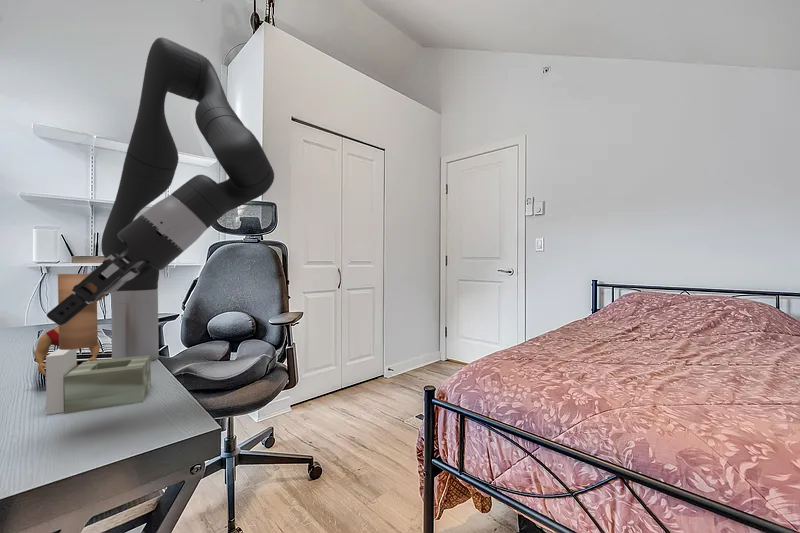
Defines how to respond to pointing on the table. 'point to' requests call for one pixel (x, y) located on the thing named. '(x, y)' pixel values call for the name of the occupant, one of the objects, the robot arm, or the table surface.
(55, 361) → the backstop wall
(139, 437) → the table surface
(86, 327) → the dowel
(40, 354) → the action figure
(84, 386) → the socket block
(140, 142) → the robot arm
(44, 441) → the table surface
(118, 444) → the table surface
